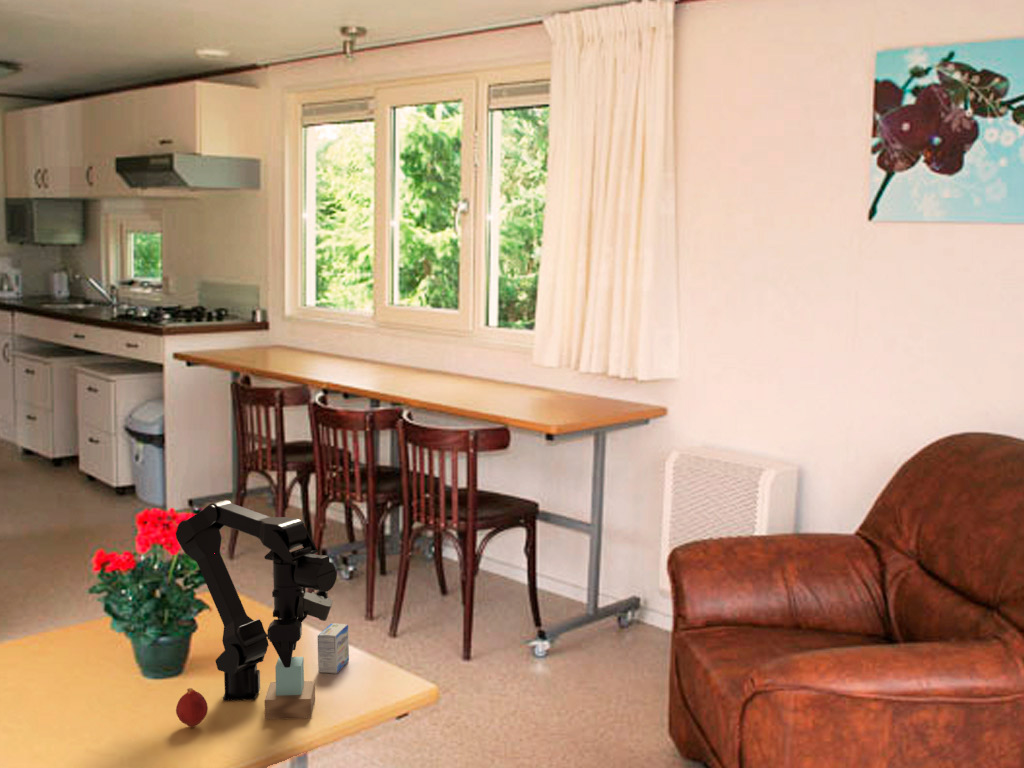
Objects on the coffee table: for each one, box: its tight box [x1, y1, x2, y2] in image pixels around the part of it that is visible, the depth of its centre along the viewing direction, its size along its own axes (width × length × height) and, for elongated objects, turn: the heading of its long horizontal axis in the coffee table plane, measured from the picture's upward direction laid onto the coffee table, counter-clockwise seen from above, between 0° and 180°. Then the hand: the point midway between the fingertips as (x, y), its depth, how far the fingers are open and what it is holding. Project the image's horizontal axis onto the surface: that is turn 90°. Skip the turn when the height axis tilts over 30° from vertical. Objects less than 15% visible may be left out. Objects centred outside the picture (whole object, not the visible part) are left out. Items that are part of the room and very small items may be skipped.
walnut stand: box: [264, 680, 316, 720], centre depth 225 cm, size 9×9×4 cm
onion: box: [175, 687, 209, 728], centre depth 217 cm, size 6×6×8 cm
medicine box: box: [317, 623, 350, 675], centre depth 247 cm, size 8×4×9 cm, turn 168°
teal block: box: [274, 656, 305, 696], centre depth 225 cm, size 5×5×6 cm
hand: (290, 658), depth 224 cm, fingers open, 9 cm apart
